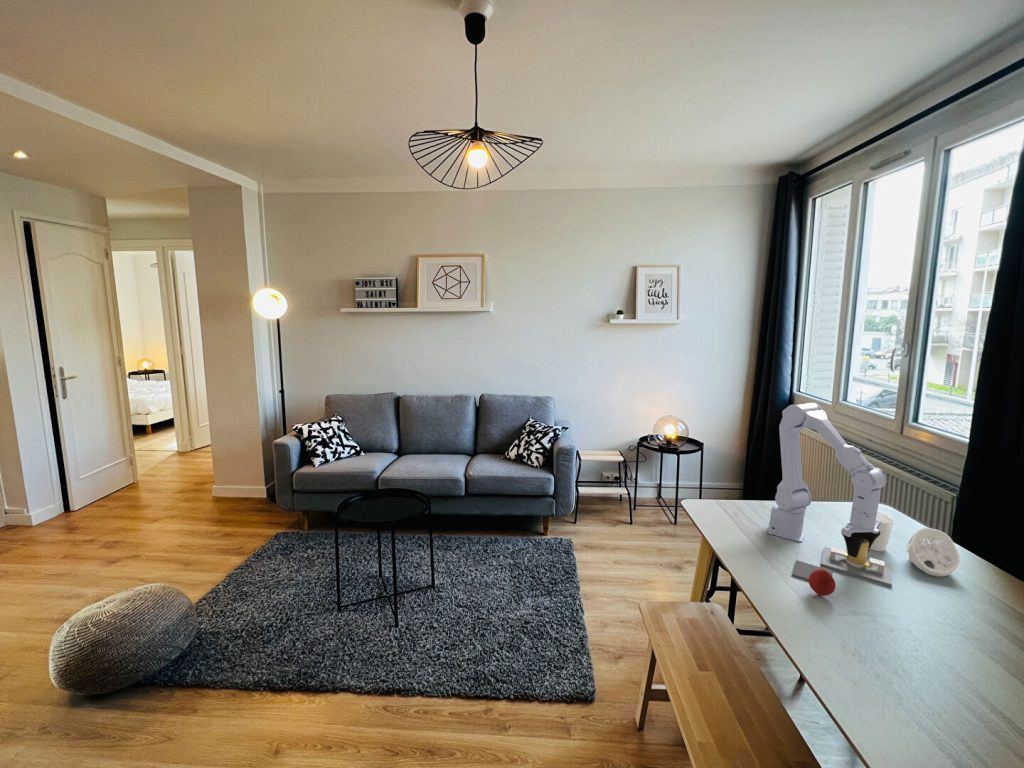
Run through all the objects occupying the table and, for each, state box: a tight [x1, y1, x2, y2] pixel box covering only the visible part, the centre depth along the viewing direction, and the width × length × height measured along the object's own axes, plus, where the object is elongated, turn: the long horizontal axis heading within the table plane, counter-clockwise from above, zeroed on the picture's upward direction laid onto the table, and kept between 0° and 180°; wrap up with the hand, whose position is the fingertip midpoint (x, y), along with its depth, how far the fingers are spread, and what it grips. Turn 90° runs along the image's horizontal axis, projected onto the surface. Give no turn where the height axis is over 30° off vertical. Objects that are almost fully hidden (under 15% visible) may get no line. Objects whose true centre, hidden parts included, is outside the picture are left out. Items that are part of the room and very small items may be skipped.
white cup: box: [869, 511, 894, 552], centre depth 145 cm, size 8×8×10 cm
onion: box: [807, 566, 837, 597], centre depth 120 cm, size 6×6×8 cm
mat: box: [791, 559, 834, 582], centre depth 130 cm, size 9×9×1 cm
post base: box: [820, 546, 893, 588], centre depth 134 cm, size 16×12×4 cm
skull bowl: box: [906, 527, 961, 578], centre depth 134 cm, size 10×14×12 cm
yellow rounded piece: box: [844, 539, 873, 568], centre depth 133 cm, size 8×4×7 cm, turn 25°
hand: (857, 553), depth 133 cm, fingers closed on yellow rounded piece, 4 cm apart
